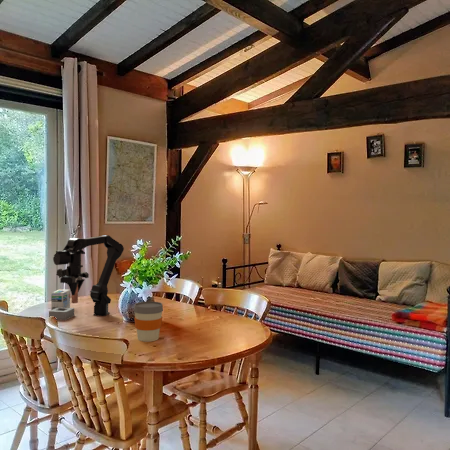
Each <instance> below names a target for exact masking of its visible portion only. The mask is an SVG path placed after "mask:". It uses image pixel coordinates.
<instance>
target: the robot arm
mask: <svg viewBox="0 0 450 450" xmlns="http://www.w3.org/2000/svg"><path fill="white" fill-rule="evenodd" d="M101 244H103V245H104V247H105V248H106V255H107V258H106V260H105V263H104V266H103V269H102V272H101V274H100V277H99V278H98V279H99V280H98V282H97V283H96V284H93V285H92V286H91V289H90V291H89V293H90V294H89V296H90V299H91V300H92V302H93V303H94V305H93V316H98V317H99V316H101V317H102V316H103V317H106V316H107V315H109V314H110V313H111V312H109V304H111V301H112V299H111V298H110V296H108V293H109V289H108V285H109V281H110V278H111V277H112V273H113V270H114V269H115V268H114V267H115V265H116V263H117V261H118V259H119V258H120V257H121V256H122V255H123V253H124V250H125V247H124V245H123V244H122V243H120V242H118V241H117V240H115V239H114V238H113V237H112V236H110V235H108V234H107V235H106V234H102V235H100V236H99V235H98V236H93V237H92V236H91V237H86V238H79V237H77V238H76V237H70V238H69V239H68V241H67V243H66V245H65V246H64V248H63V249H62V250H55V253H54V255H53V257H52V259H53V263H54V265H55V266H61V265H62V266H63V265H66V268H65V269H63V268H59V269H57V270H56V276H57V277H58V278H59V280H60V281H59V282H60V284H62V283H63V284H66V285H68V288H69V290H70V294H71V296H72V295H75V292H76V289H77V285H78V293H79V292H80V290H81V287H82V286H83V284H84V282H85V281H86V279H88V278H90V277H89V275H90V274H89V273H88V272H86V271H82V268H83V264H82V255H85V254H86V252H85V251H84V250H85V248H87V247H90V246H91V247H92V246H94V245H95V246H96V245H101ZM83 249H84V250H83ZM84 278H85V279H84Z"/></svg>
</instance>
